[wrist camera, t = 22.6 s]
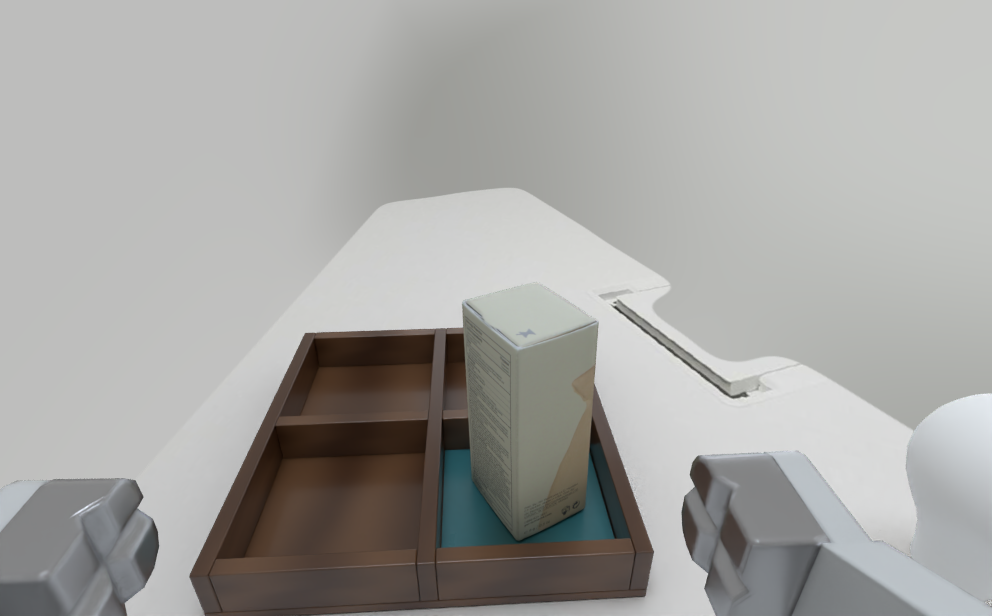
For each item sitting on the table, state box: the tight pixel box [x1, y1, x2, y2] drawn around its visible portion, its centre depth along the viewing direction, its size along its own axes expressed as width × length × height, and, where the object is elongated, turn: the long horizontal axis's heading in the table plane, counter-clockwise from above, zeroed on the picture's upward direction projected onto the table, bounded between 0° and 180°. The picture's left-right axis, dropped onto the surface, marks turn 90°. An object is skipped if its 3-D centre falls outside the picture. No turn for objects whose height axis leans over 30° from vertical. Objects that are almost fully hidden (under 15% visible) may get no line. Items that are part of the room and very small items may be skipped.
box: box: [462, 282, 598, 541], centre depth 27 cm, size 5×4×11 cm
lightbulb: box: [906, 394, 992, 603], centre depth 22 cm, size 6×6×11 cm
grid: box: [190, 328, 654, 616], centre depth 32 cm, size 19×19×3 cm
